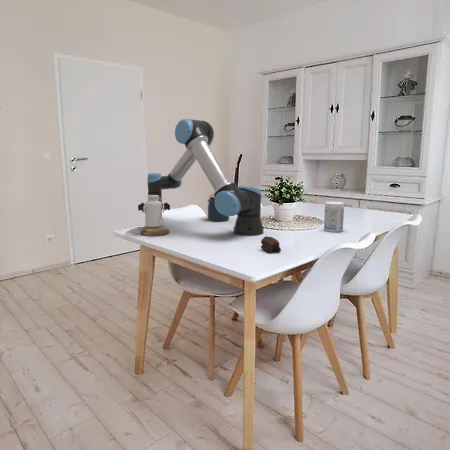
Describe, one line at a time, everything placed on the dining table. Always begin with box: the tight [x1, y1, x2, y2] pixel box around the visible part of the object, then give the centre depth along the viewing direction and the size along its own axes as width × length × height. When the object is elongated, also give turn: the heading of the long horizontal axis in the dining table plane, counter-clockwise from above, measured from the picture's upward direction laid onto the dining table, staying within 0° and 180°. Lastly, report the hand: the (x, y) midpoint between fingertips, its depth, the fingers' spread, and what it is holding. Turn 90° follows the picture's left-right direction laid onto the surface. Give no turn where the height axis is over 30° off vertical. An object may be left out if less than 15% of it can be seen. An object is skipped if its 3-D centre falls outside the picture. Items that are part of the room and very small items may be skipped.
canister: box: [207, 193, 230, 222], centre depth 220 cm, size 13×13×18 cm
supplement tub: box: [323, 201, 345, 233], centre depth 192 cm, size 10×10×15 cm
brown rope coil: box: [139, 225, 170, 237], centre depth 183 cm, size 14×14×3 cm
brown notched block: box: [260, 235, 282, 254], centre depth 152 cm, size 6×7×10 cm
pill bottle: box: [144, 194, 163, 227], centre depth 181 cm, size 8×8×15 cm
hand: (153, 209), depth 177 cm, fingers open, 8 cm apart
